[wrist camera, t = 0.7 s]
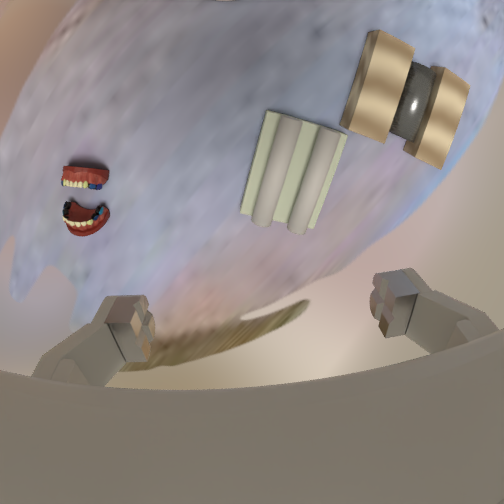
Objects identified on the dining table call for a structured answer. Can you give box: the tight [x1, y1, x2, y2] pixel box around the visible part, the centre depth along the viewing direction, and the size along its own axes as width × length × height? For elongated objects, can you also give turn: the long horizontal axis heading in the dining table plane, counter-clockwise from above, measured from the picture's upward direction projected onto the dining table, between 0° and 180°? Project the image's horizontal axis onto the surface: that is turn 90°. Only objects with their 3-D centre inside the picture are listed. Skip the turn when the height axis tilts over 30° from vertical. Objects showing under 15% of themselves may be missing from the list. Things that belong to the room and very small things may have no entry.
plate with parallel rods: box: [240, 110, 348, 235], centre depth 42 cm, size 16×12×5 cm
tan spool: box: [340, 30, 470, 170], centre depth 35 cm, size 16×18×4 cm
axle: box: [389, 62, 437, 143], centre depth 35 cm, size 12×5×5 cm, turn 166°
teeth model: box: [61, 166, 110, 236], centre depth 41 cm, size 8×6×12 cm
